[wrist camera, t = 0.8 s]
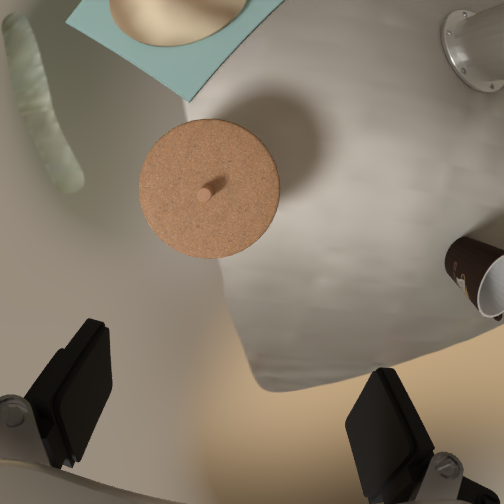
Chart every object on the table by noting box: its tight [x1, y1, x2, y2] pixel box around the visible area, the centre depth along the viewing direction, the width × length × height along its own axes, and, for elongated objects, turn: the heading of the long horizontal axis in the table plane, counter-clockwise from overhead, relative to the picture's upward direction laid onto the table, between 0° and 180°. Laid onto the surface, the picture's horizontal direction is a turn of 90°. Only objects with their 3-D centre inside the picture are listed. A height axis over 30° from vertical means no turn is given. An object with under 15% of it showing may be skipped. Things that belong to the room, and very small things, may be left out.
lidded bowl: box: [139, 119, 280, 259], centre depth 31 cm, size 13×13×11 cm
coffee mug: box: [445, 237, 504, 321], centre depth 36 cm, size 12×9×10 cm
